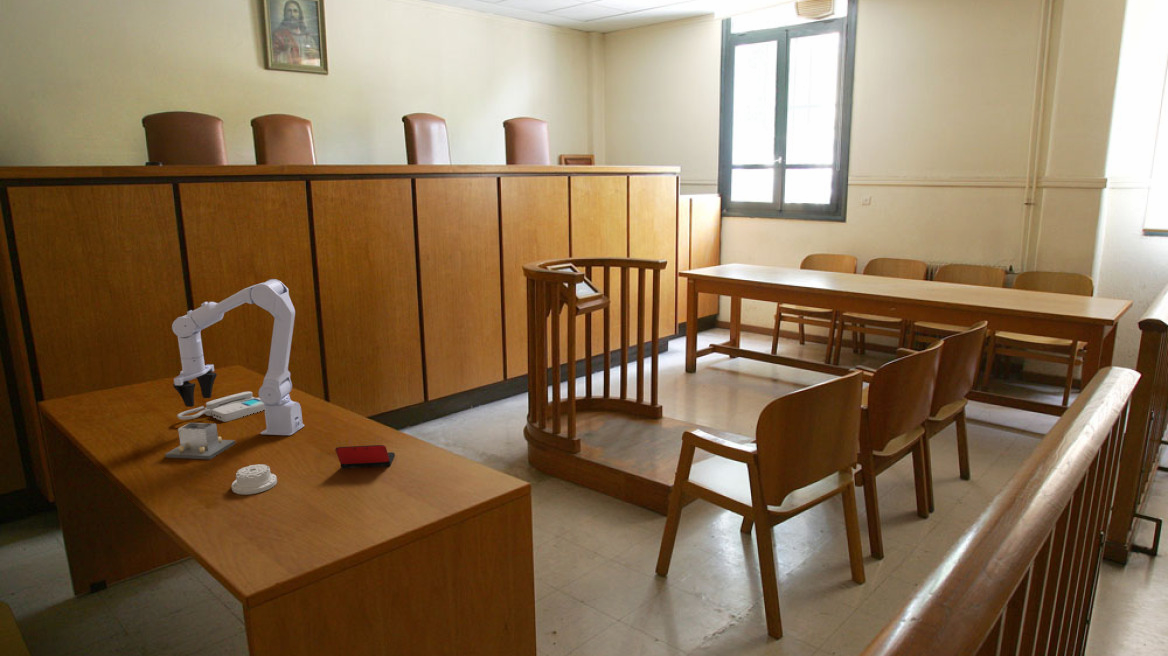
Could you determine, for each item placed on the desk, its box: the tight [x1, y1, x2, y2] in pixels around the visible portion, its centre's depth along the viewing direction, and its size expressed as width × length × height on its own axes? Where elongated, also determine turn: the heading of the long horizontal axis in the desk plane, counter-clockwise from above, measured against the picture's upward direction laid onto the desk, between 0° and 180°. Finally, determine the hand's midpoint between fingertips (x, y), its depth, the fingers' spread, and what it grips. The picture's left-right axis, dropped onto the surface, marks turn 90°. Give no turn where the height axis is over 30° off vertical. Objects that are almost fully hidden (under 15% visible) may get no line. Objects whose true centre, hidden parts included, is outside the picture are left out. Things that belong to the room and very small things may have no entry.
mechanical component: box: [231, 463, 278, 496], centre depth 174 cm, size 10×4×10 cm
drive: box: [177, 422, 219, 451], centre depth 196 cm, size 8×5×6 cm, turn 82°
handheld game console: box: [334, 444, 396, 470], centre depth 185 cm, size 12×11×7 cm
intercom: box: [176, 391, 264, 422], centre depth 224 cm, size 13×4×25 cm
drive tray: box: [164, 436, 236, 460], centre depth 196 cm, size 13×11×2 cm
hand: (198, 401), depth 208 cm, fingers open, 7 cm apart
